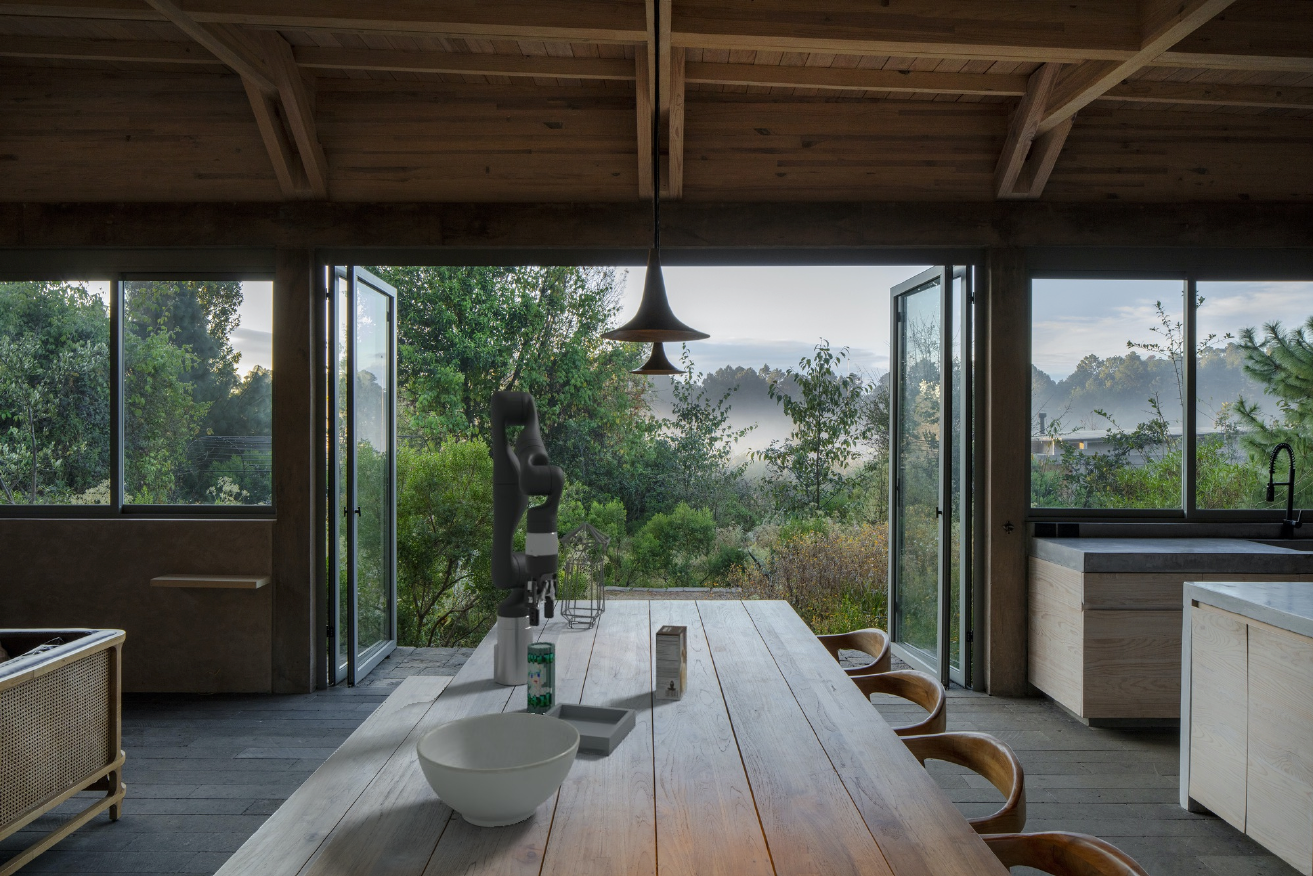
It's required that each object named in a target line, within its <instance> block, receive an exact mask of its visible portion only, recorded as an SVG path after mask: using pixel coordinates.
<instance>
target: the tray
mask: <svg viewBox="0 0 1313 876" xmlns="http://www.w3.org/2000/svg"><path fill="white" fill-rule="evenodd" d="M636 710H637V709H633V708H621V707H611V706H601V705H590V704H582V703H581V704H579V703H568V702H558V703H555V706H554V707H553V708H551V709H550V710H549V711H548V712H546V713H545V714H543V715H546V716H550V717H554V718H558V719H561V720H563V721H566V722H568V723H569V724H571V725H572V726H574V727H575V728H576V729H577V730H578V732H579V735H580V742H579V747H578V750H577V753H582V754H590V755H592V754H593V755H599V754H602V755H601V756H608V755H610V756H611V755H612V753H613V752H614V751H615V750H616V749H617V747H619V745H620V744H621V743H622V742H623V741H624V740H625V738H626V737H628V735H629V734H630V733H631V732H632V730H634V729H635V728H636V725H637V723H636V721H637V720H636V718H637V711H636ZM629 732H630V733H629ZM622 740H623V741H622ZM615 748H616V749H615Z"/></svg>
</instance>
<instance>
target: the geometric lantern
mask: <svg viewBox="0 0 1313 876" xmlns="http://www.w3.org/2000/svg"><path fill="white" fill-rule="evenodd" d="M582 532H583V534H582ZM589 532H590V534H591V535H592V537H593V538H592V537H589ZM581 534H582V536H580V535H581ZM576 535H577V536H576ZM585 535H586V536H585ZM603 536H604V537H603ZM572 538H574V540H572ZM580 539H582V540H580ZM585 540H586V541H587V542H585ZM611 540H612V538H611V537H610V536H608V535H607V534H606V533H604V532H602V531H600V530H599V529H597V528H596V527H594V526H593V525H591V524H590V523H587V522H582V524H580V525H579V526H578V527H577V528H575V529H574V530H572V531H571V532H569V533H568V534H566V535H564V536H563V537H561V538H560V539H558V542H559V541H560V543H561V544H562V546H563V548H564V557H565V558H564V559H565V561H564V562H565V571H564V578H563V587H562V594H561V597H562V598H561V604H560V612H559V613H560V616H561V617H563V618H564V619H565V620H566V621H567V622H568V626H569V627H573V624H572V622H578V623H577V624H589V628H590V627H593V625H594V624H593V622H594V623H597V621H596V620H597V619H598V618H599V617H600V616H601V615H603V614H604V613H605V612H606V605H605V604H606V603H605V602H606V600H605V574H604V573H605V572H604V571H605V569H604V560H605V555H606V550H607V549H608V546H609V544H610V542H611ZM571 543H573V545H571ZM576 544H578V545H581V548H582V549H576V548H577V547H576ZM589 544H590V545H589ZM591 544H592V545H591ZM601 544H602V550H601V551H600V553H598V551H597V549H596V548H597V547H599V546H600V545H601ZM570 548H571V549H572V550H573V551H574V552H573V553H572V551H571V549H570ZM591 548H592V549H594V550H595V552H596V555H597V556H598V557H597V559H591V558H589V555H588V554H587V552H586V551H588V550H589V549H591ZM567 549H568V550H569V553H570V554H571V557H570V559H569V560H568V559H567V558H568V557H567ZM577 552H580V554H579V555H578V557H577V558H574V555H575V554H576V553H577ZM602 552H603V554H602ZM583 553H584V554H585V557H586V559H581V556H582V555H583ZM601 555H602V559H601ZM575 561H577V562H576V563H575ZM579 561H588V562H589V563H580V562H579ZM593 562H595V563H593ZM598 562H599V563H598ZM570 565H571V573H570ZM575 565H576V573H575V575H576V576H575V590H574V591H575V592H574V604H573V606H574V607H570V603H571V596H572V595H571V594H572V584H573V575H574V566H575ZM580 565H581V566H590V568H591V570H590V582H591V583H590V608H588V607H577V592H578V579H579V577H578V576H579V566H580ZM594 566H595V567H596V568H595V569H596V570H595V571H596V572H595V573H596V574H595V575H596V576H595V577H596V578H595V579H596V608H593V587H594V585H593V584H594V583H593V582H594V581H593V580H594V579H593V575H594V574H593V573H594V571H593V570H594V568H593V567H594ZM569 574H570V582H569ZM565 590H566V591H565ZM564 597H565V599H564ZM564 601H565V604H564ZM601 601H602V605H603V609H601V606H602V605H601ZM564 605H565V608H564V610H563V607H564ZM570 610H573V614H572V612H571V611H570ZM576 610H585V611H586V610H587V611H590V615H582V614H576ZM567 611H568V613H567ZM593 611H596V613H595V614H594V615H593ZM569 617H570V618H569ZM579 618H580V619H590V620H589V621H579V620H578V621H577V620H576V619H579ZM570 624H571V626H570ZM593 628H594V627H593Z"/></svg>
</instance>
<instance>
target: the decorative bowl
mask: <svg viewBox="0 0 1313 876" xmlns="http://www.w3.org/2000/svg"><path fill="white" fill-rule="evenodd" d="M579 742H580V735H579V732H578V730H577V729H576V728H575V727H574V726H572V725H571V724H569V723H568V722H566V721H563V720H561V719H558V718H554V717H550V716H546V715H544V714H543V715H541V714H531V713H529V712H528V713H527V712H496V713H484V714H478V715H472V716H468V717H463V718H459V719H455V720H452V721H448V722H446V723H443V724H440V725H438V726H436V727H434V728H431V729H430V730H429V731H427V732H426V733H424V734H423V735H422V736H421V738H419V740H418V741H417V743H416V755H417V759H418V762H419V765H420V768H421V771H422V773H423V775H424V777H425V779H426V781H427V783H428V785H429V786H430V788H431V789H432V791H433V792H434V793H435V794H436V796H437V797H438V798H439V799H440V800H441V801H442V802H443V803H444V804H445V805H447V806H448V807H450V808H451V809H453V810H454V811H456V812H458V813H459V814H461V817H462V818H463V819H464V820H465V821H466V822H467V823H469V824H471V825H473V826H474V825H475V826H477V827H478V826H479V827H484V828H495V827H494V826H503V825H509V824H513V825H516V824H515V823H517V822H520V821H522V820H524V821H527V820H528V819H530V818H531V817H532V816H533V815H534V814H535V813H536V812H537V808H538V807H540V806H542V805H543V804H544V803H546V802H547V801H548V800H549V799H550V798H551V797H552V796H553V795H554V794H555V793H556V792H557V791H558V790H559V788H560V787H561V786H562V784H563V783H564V781H565V779H566V778H567V776H568V774H569V773H570V770H571V769H572V766H573V764H574V762H575V759H576V758H577V757H576V756H577V753H578V752H577V750H578V747H579ZM534 812H535V813H534ZM531 815H532V816H531ZM530 816H531V817H530ZM529 817H530V818H529ZM527 818H528V819H527ZM522 822H523V821H522ZM520 823H521V822H520ZM517 824H518V823H517ZM509 826H510V825H509ZM503 827H504V826H503Z"/></svg>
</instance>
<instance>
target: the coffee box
mask: <svg viewBox="0 0 1313 876" xmlns="http://www.w3.org/2000/svg"><path fill="white" fill-rule="evenodd" d="M687 633H688V626H687V625H662V626H661V627H660V628H659V629H658V630H657V631H656V633H655V699H656V698H657V700H671V701H681V700H682V698H683V697H684V695H685V693H686V692H687V691H688V685H687V684H688V663H687V662H688V639H687V638H688V634H687Z"/></svg>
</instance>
